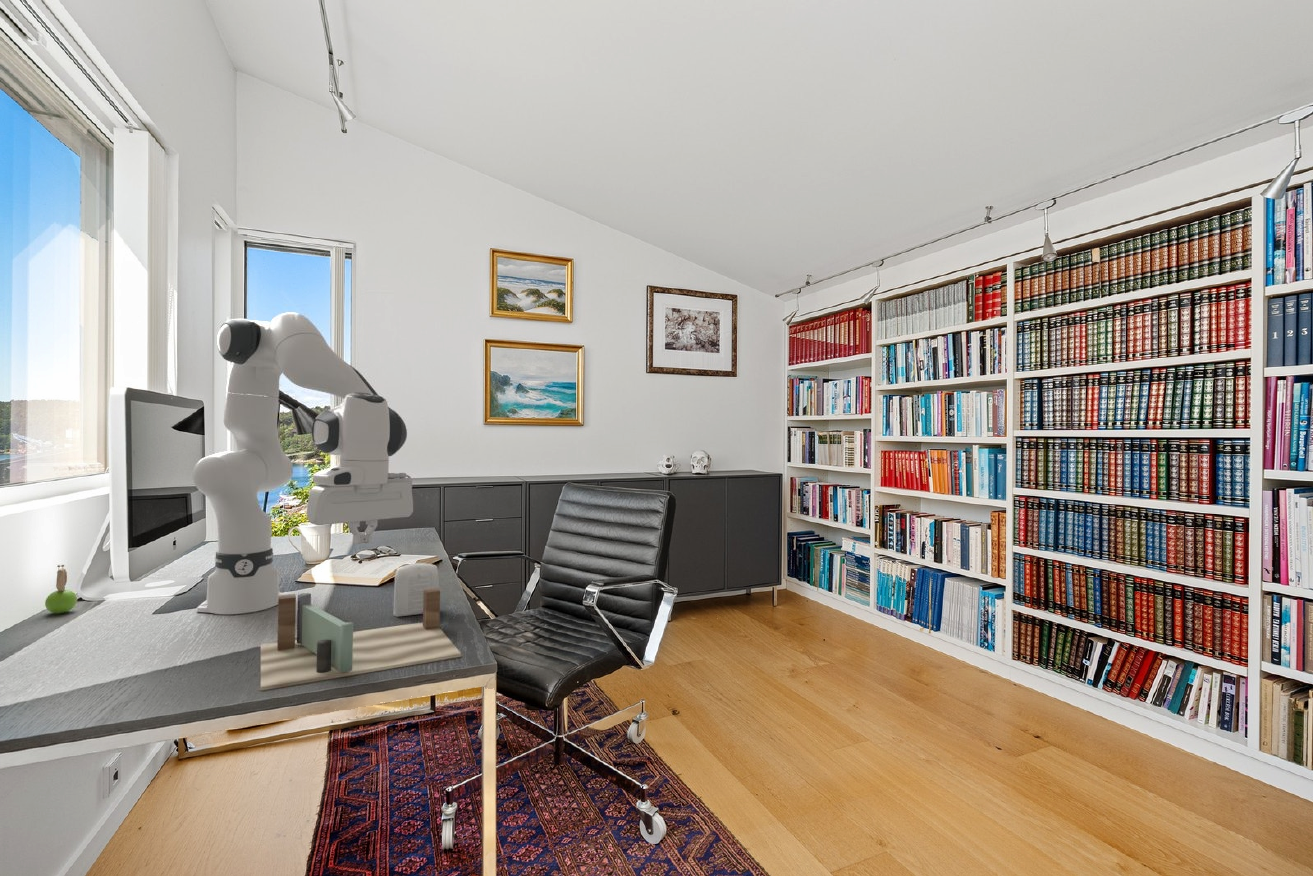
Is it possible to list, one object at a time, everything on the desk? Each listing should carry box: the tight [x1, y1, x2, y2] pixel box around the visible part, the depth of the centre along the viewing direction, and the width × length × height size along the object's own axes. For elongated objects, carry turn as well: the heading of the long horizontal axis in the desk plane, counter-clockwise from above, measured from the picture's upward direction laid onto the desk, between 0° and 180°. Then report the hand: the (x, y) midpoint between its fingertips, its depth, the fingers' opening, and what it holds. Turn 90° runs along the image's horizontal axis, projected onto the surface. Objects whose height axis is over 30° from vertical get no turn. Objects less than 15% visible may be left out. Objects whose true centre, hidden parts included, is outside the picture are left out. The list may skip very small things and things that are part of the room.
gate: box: [296, 592, 354, 672], centre depth 122 cm, size 23×2×10 cm, turn 49°
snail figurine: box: [44, 564, 78, 614], centre depth 146 cm, size 5×6×12 cm
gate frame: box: [260, 587, 462, 691], centre depth 128 cm, size 24×34×11 cm
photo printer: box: [393, 562, 439, 618], centre depth 155 cm, size 10×4×12 cm, turn 123°
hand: (362, 543), depth 125 cm, fingers closed
